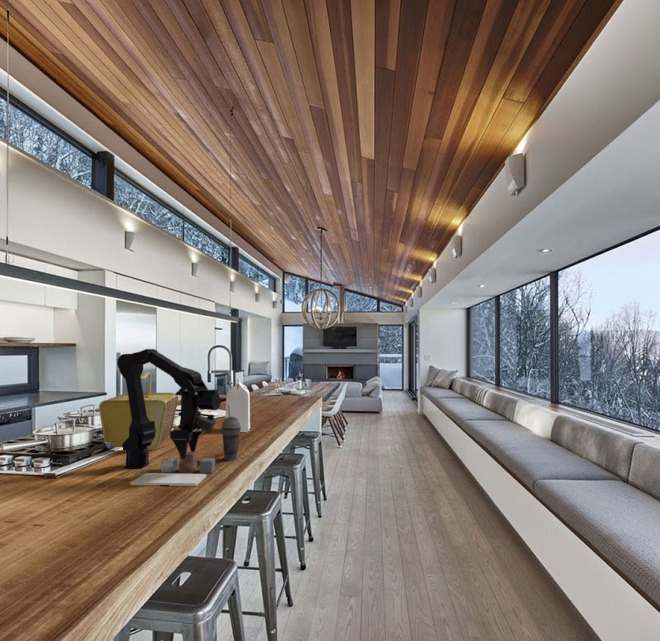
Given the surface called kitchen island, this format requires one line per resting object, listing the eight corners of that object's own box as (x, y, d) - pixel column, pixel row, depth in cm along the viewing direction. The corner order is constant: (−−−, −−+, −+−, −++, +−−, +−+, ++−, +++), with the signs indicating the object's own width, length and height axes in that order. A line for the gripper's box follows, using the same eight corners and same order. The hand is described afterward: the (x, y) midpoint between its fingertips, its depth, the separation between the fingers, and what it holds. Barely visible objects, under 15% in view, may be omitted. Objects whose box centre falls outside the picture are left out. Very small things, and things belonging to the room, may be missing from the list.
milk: (227, 428, 232) (228, 377, 233) (250, 428, 233) (250, 377, 234) (224, 432, 220) (225, 378, 221) (248, 432, 221) (249, 378, 222)
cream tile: (130, 484, 137) (130, 482, 137) (145, 475, 147) (145, 473, 147) (196, 486, 136) (196, 483, 136) (206, 476, 146) (206, 474, 146)
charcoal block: (199, 473, 150) (199, 461, 150) (203, 470, 154) (203, 458, 154) (211, 473, 150) (211, 461, 150) (215, 470, 154) (215, 458, 154)
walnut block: (179, 473, 150) (179, 454, 150) (184, 469, 155) (184, 451, 155) (192, 473, 150) (193, 454, 150) (197, 469, 154) (197, 451, 155)
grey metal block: (160, 472, 151) (161, 460, 151) (165, 469, 155) (166, 457, 155) (172, 472, 150) (173, 460, 151) (177, 469, 154) (177, 457, 155)
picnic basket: (164, 451, 180) (166, 375, 182) (95, 453, 177) (98, 376, 178) (177, 436, 209) (179, 371, 211) (118, 438, 205) (120, 371, 207)
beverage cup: (235, 462, 165) (236, 406, 166) (217, 460, 166) (218, 405, 167) (243, 457, 172) (244, 404, 173) (225, 456, 173) (226, 403, 174)
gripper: (204, 413, 144) (203, 463, 143) (220, 405, 163) (219, 449, 162) (169, 412, 144) (168, 462, 143) (190, 405, 163) (188, 449, 162)
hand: (188, 455), depth 153 cm, fingers open, 9 cm apart
